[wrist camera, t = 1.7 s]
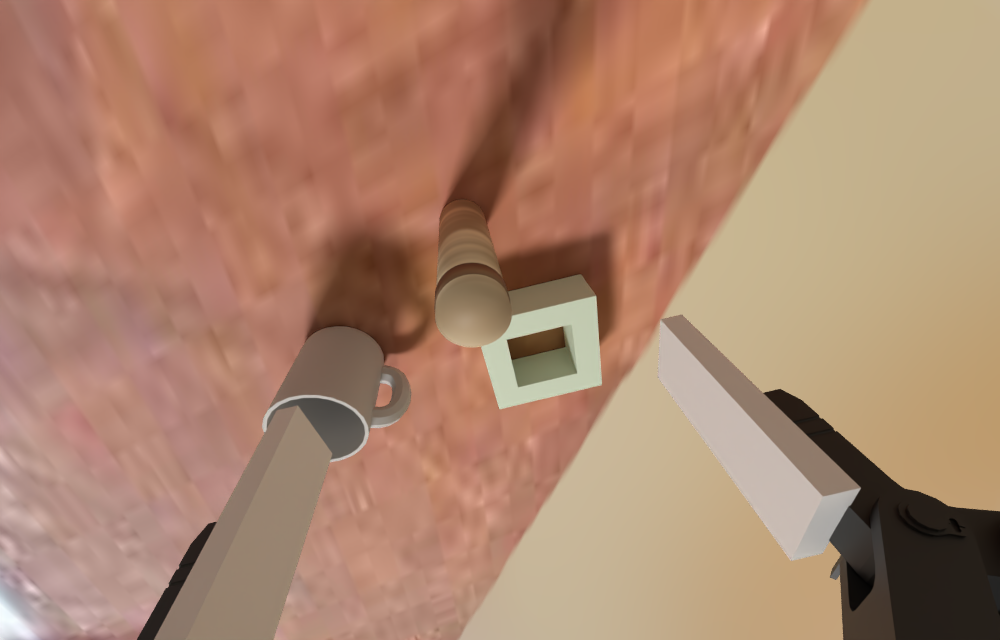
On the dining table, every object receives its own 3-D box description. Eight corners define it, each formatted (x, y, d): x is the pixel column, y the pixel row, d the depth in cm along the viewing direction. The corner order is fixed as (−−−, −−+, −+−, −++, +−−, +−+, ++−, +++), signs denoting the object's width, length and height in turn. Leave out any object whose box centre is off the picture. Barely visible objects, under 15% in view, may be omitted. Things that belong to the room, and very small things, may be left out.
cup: (302, 317, 32) (258, 389, 24) (419, 333, 34) (412, 403, 27) (303, 380, 35) (265, 459, 28) (409, 391, 38) (400, 466, 30)
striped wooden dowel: (432, 204, 28) (423, 291, 16) (480, 193, 28) (504, 272, 16) (446, 249, 30) (446, 355, 18) (490, 238, 30) (519, 338, 18)
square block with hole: (471, 300, 33) (474, 324, 29) (580, 273, 33) (596, 295, 29) (494, 380, 38) (499, 409, 35) (588, 358, 38) (601, 384, 35)
